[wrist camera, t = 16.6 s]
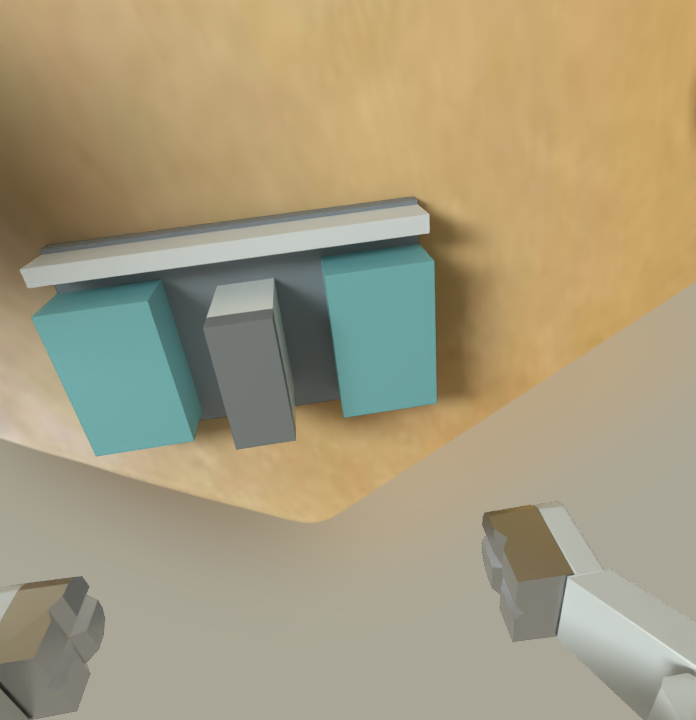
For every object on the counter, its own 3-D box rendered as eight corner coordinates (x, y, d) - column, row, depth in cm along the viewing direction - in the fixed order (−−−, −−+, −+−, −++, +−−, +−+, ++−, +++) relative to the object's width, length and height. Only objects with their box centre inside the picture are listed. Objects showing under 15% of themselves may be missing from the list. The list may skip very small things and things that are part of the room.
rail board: (413, 196, 34) (433, 212, 29) (419, 378, 41) (436, 414, 37) (46, 245, 33) (9, 270, 28) (121, 424, 40) (100, 467, 35)
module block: (273, 278, 34) (272, 318, 28) (293, 385, 39) (296, 440, 33) (217, 285, 34) (202, 328, 28) (243, 392, 38) (236, 449, 32)
